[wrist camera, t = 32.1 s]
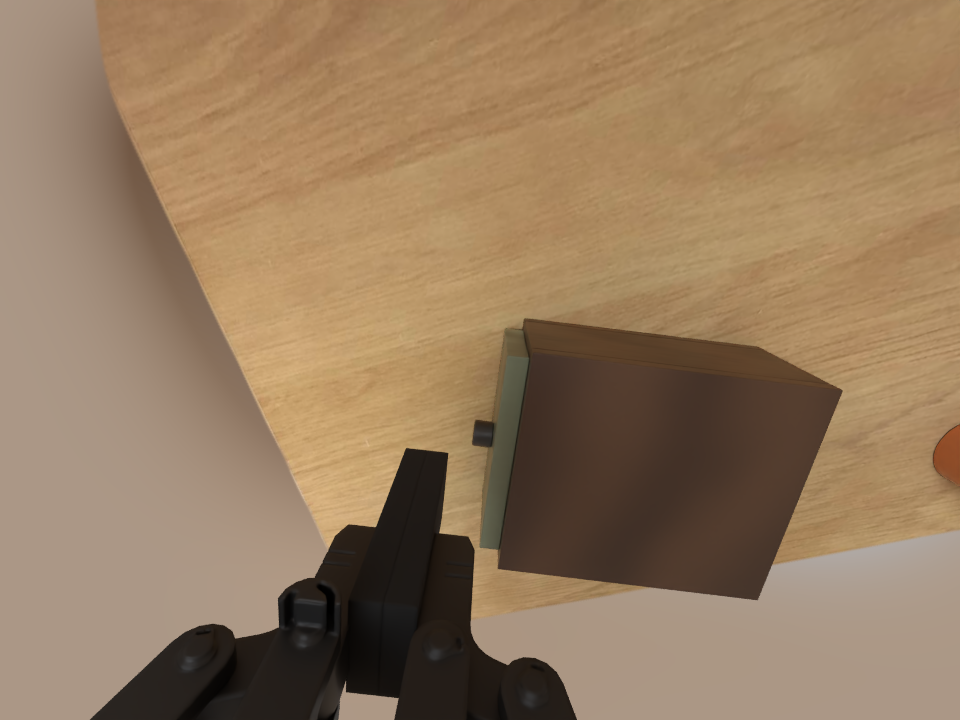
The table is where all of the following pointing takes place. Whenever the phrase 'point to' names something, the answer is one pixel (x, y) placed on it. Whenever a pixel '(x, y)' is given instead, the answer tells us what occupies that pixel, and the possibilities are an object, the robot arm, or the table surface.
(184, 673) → the robot arm
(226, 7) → the table surface
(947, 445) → the orange cylindrical post
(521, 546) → the cabinet
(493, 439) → the drawer
